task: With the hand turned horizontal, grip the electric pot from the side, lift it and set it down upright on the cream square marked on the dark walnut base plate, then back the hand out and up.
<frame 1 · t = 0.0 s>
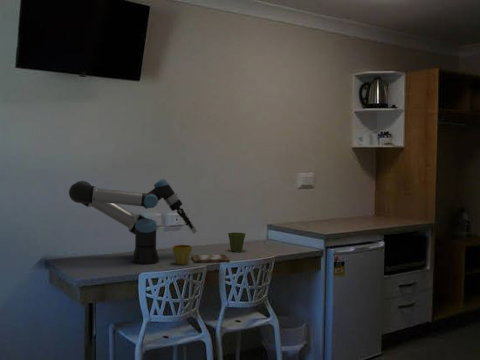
hand: (194, 230, 306), 15 cm above the table, tool tilted 35°, fingers open, 13 cm apart
plant pot: (182, 263, 285), on the table
base plate: (210, 259, 296), on the table
plant pot 2: (236, 251, 327), on the table
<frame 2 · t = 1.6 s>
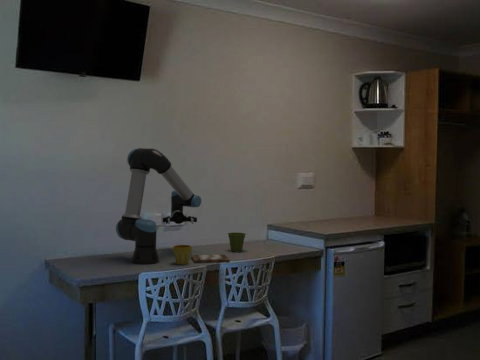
hand: (181, 221, 294), 22 cm above the table, tool horizontal, fingers open, 13 cm apart
nothing on the table moved.
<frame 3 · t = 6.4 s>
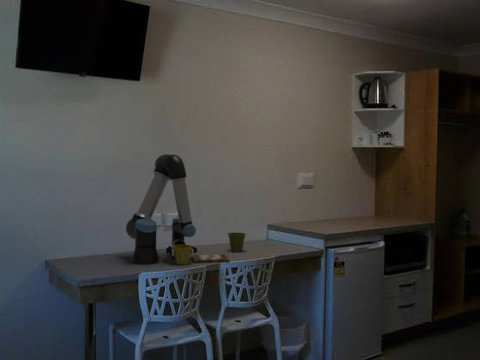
hand: (182, 253, 281), 7 cm above the table, tool horizontal, fingers closed on plant pot, 10 cm apart
plant pot: (182, 263, 285), on the table, touching gripper
everything else where it was.
when the fingers open (9 cm above the table, at t = 11.5 s): plant pot moves 1 cm, resting on base plate.
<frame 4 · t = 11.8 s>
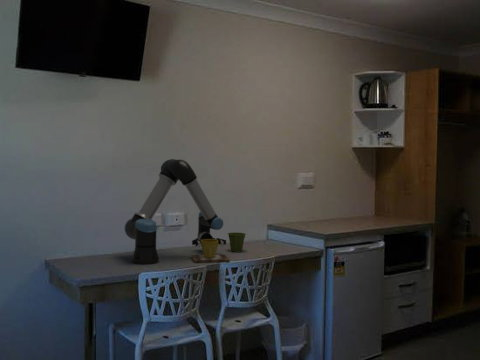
hand: (211, 244, 293), 9 cm above the table, tool horizontal, fingers open, 13 cm apart
plant pot: (209, 257, 296), point 2 cm above the table, touching base plate
everything else where it was.
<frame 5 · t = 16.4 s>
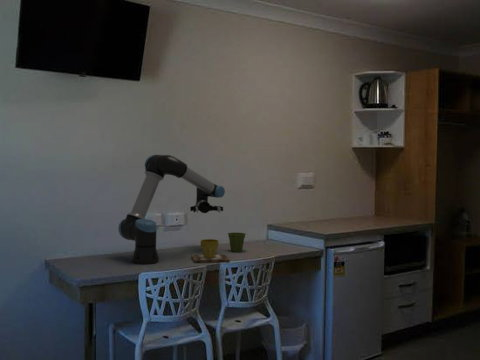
hand: (208, 210, 305), 28 cm above the table, tool horizontal, fingers open, 13 cm apart
nothing on the table moved.
at the end: plant pot inside the target area on the base plate (0.5 cm from its centre), point 1.5 cm above the base plate's base; plant pot tilted 0°; the gripper is holding nothing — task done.
